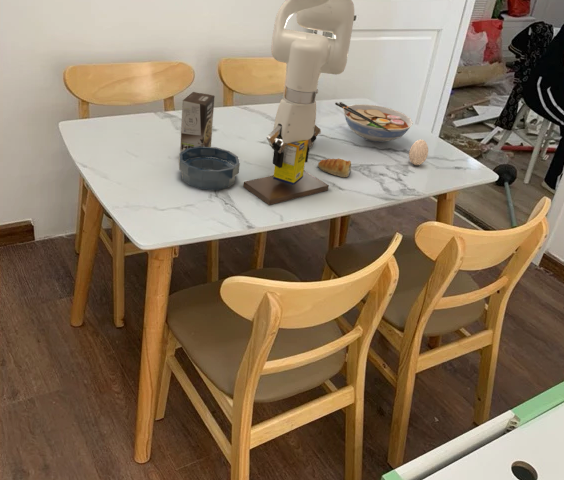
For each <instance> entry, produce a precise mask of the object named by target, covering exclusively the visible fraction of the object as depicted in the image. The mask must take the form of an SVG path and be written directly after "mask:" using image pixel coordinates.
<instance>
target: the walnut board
mask: <svg viewBox="0 0 564 480" xmlns="http://www.w3.org/2000/svg"><path fill="white" fill-rule="evenodd" d="M273 177H274V174H273V175H268V176H263V177H259V178H254V179H250V180H244V181H243V185H242V187H243V188H244V189H245V190H247V191H248V192H250V193H251V194H253V195H254V196H255V197H257V198H258V199H260V200H261V201H262V202H264V203H265V204H267V205H268V206H272V205H274V204H275V205H276V204H280V203H283V202H286V201H291V200H295V199H299V198H303V197H308V196H311V195H315V194H318V193H319V194H320V193H324V192H327V191H328V190H329V187H330V186H329V184H327V183H326V182H324V181H322V180H321V179H320V178H317V177H316V176H315V175H313V174H311V173H309V172H308V171H306V170H305V169H304V171H303V177H302V179H300V180H299V181H298V182H297V183H296V184H294V185H291V184H288V183H285V182H281V181H278V180H275V179H273Z"/></svg>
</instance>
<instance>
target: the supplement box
mask: <svg viewBox="0 0 564 480" xmlns="http://www.w3.org/2000/svg"><path fill="white" fill-rule="evenodd" d="M281 143H282V142H281V141H280V144H279V147H280V145H281ZM307 146H308V140H304V141H298V142H293V143H287V145H286V146H285V148H284V150H283V151H282V152H283V153H284V157H283V164H282V168H279V167H277V166H275V165H274V169H273V175H274V177H273V179H275V180H278V181H281V182H285V183H288V184H291V185H294V184H296V183H297V182H298V181H299V180H300V179H302V177H303V171H304V170H305V164H306V163H305V158H306V152H307Z"/></svg>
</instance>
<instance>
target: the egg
mask: <svg viewBox="0 0 564 480" xmlns="http://www.w3.org/2000/svg"><path fill="white" fill-rule="evenodd" d="M428 154H429V145H428V143H427V142H426V140H424V139H418V140H416V141H415V142H413V144H412V145H411V147H410V149H409V152H408V158H409V161H410V163H411V164H412V165H414V166H420V165H422V164H423V163H424V162H425V161H426V160H427V158H428V156H429V155H428Z"/></svg>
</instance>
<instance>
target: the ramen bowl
mask: <svg viewBox="0 0 564 480" xmlns="http://www.w3.org/2000/svg"><path fill="white" fill-rule="evenodd" d="M334 105H335V106H337V107H339V108H341V109H343V110H342V111H343V115H344V118H345V121H346V123H347V126H348V127H349V129H350V130H352V132H354V133H355V134H356V135H357V136H360V137H361V138H363V139H364V140H365V141H368V142H373V143H382V142H390V141H394V140H396V139H399V138H401V137H402V136H403V135H405V134H406V133H407V132H408V131H409V129H411V127H412V125H414V122H413V120H412V118H411V117H410V116H408V115H407V114H405V113H403V112H401V111H399V110H395V109H393V108H389V107H385V106H382V105H376V104H375V105H374V104H366V103H365V104H364V103H363V104H359V103H357V104H356V103H355V104H351V105H347V104H345V103H344V102H342V101H339V102H337V101H335V103H334Z"/></svg>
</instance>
